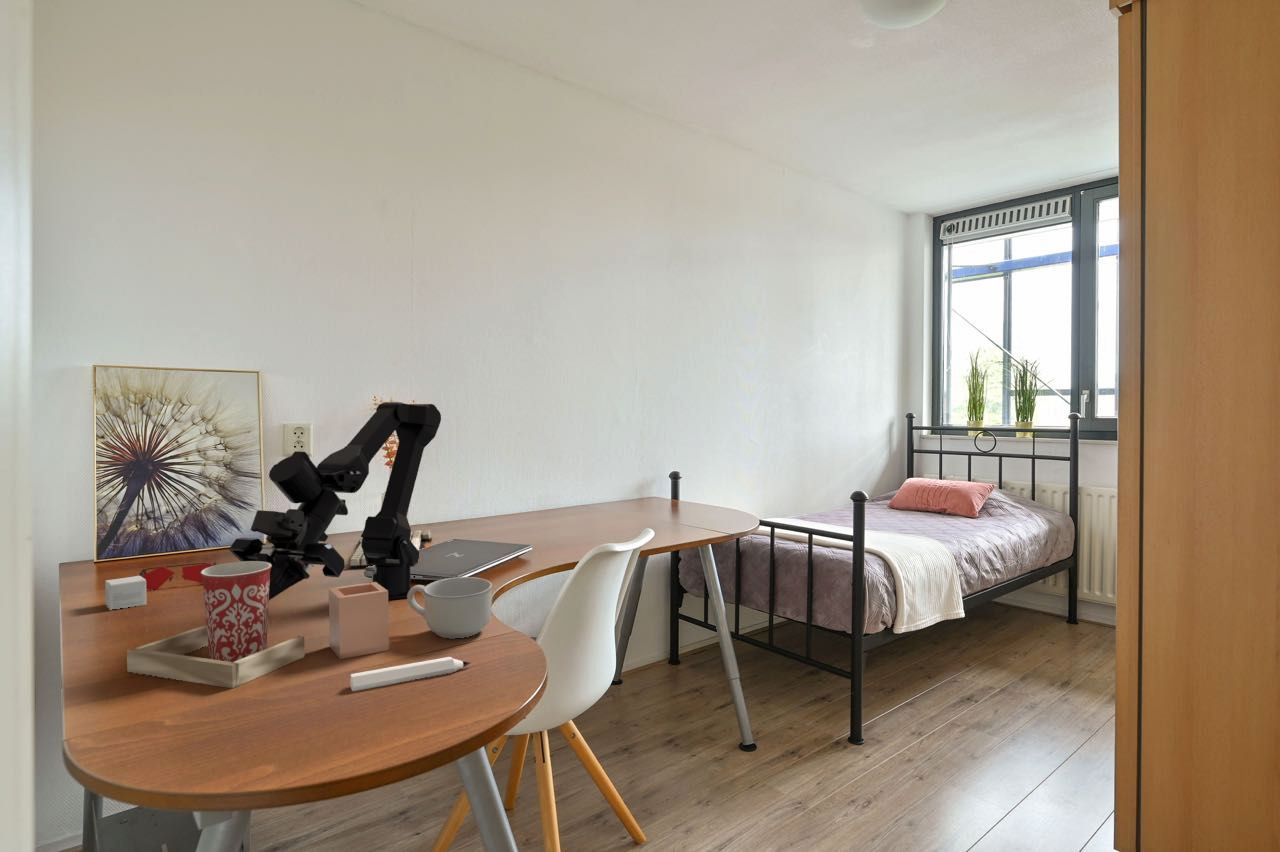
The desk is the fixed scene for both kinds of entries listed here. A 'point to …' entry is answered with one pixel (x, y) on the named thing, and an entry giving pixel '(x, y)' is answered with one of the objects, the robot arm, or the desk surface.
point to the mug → (236, 608)
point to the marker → (404, 673)
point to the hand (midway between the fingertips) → (257, 603)
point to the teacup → (454, 605)
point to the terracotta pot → (358, 619)
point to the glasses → (163, 574)
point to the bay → (208, 660)
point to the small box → (125, 592)
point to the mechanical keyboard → (416, 538)
